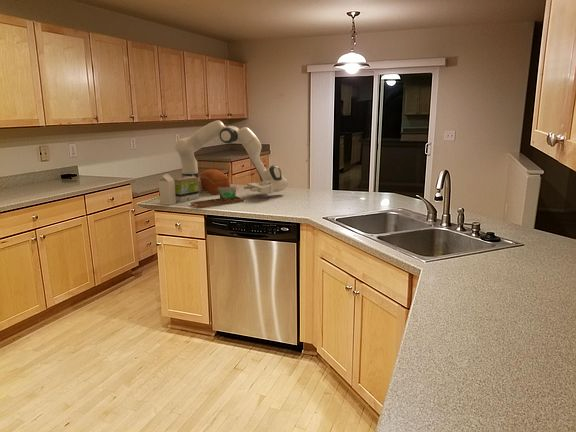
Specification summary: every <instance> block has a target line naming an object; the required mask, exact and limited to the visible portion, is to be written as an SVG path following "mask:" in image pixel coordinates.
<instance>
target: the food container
mask: <svg viewBox="0 0 576 432" xmlns="http://www.w3.org/2000/svg"><path fill="white" fill-rule="evenodd" d="M218 190H219V198H220V200H221V202H222V201H229V200H236V199H235V196H237V195H236V194H237V193H236V192H237V191H236V190H238V188H237V185H236V186H230V187H219V186H218Z"/></svg>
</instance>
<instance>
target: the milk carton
mask: <svg viewBox="0 0 576 432" xmlns="http://www.w3.org/2000/svg"><path fill="white" fill-rule="evenodd" d="M158 191H159V202H160V205H162V206H172V205H175V204H176V203H177V201H176V195H175V182H174V179H173V177H172V176H171V175H170V173H166V174H163V175H162V176H161V178H159V180H158Z"/></svg>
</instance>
